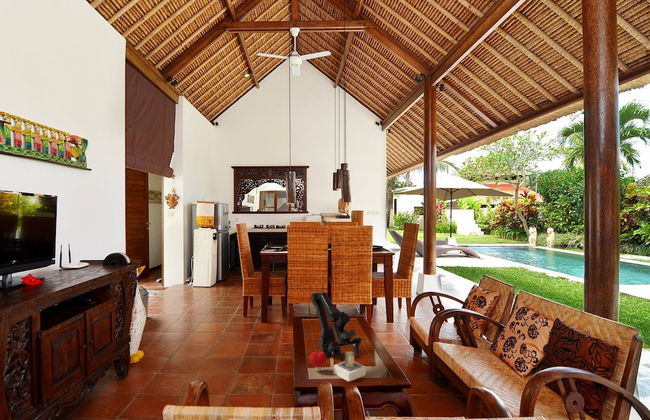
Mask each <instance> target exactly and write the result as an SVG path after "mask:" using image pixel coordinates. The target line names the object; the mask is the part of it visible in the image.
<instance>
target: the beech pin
mask: <svg viewBox="0 0 650 420" xmlns="http://www.w3.org/2000/svg"><path fill="white" fill-rule="evenodd" d="M344 361H345V367H347V368H349V369H350V368H352V367H354V362H355V352H354V351H352V350H348V351H345V352H344Z"/></svg>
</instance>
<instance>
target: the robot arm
mask: <svg viewBox="0 0 650 420" xmlns="http://www.w3.org/2000/svg"><path fill="white" fill-rule="evenodd" d="M310 301H311V303H312V305H313V306H314V307H315V309H316V313H317V315H318V321H319V325H320V329H321V331H320V337H319V339H318V341H317V342H318V345H319V346H320V347H321V348H320V352H324V353H325V354H326V356H327V358H330V357H333V356H335V355H336V356H337V358H338V359H339V360H340V361H341V363H342V362H344V361H345V358H344V356H343V354H342V352H341V351H342V350H341V347H346V346H351V347H352V350H353V352H354V356H356V358H357V359H359V358H360V354H359V352H360V351H359V348H360V347H359V346H360V345H361V343H362V342H363V340H362V339H363V338H362V337H357V336H356V331H355V328H354V329H350V330H346V327H347V326H348V324H349V322H350V320H351V317H350V316H349V315H348V314H347V313H345V311H340V310H339V308H337V307H335V306H334V304H333V302H332V301H331V299H330V298H329V295H328V293H327V291H326V292H324V291H323V292H322V291H321V292H312V293H311V295H310ZM326 312H327V314H326ZM329 322H330V323H333V324H332V328H331V327H330V326H329ZM354 336H356V337H354ZM352 338H353V339H352ZM336 340H337V341H336Z"/></svg>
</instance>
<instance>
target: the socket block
mask: <svg viewBox="0 0 650 420" xmlns="http://www.w3.org/2000/svg"><path fill="white" fill-rule="evenodd" d="M333 374H334V375H335V376H338V377H339V378H341V379H343V380H345V381H346V382H349V381H350V382H352V381H354V380H356V379H360V378H362V377H364V376H366V375H367V368H366V366H365V365H363V364H361V363H358V362H356V361H354V367H352V368H350V369H349V368H347V367H345V360H344V361H343V362H342V361H341V362H339V363H337V364H333ZM350 382H349V383H350Z"/></svg>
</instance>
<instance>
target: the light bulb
mask: <svg viewBox="0 0 650 420" xmlns="http://www.w3.org/2000/svg"><path fill="white" fill-rule="evenodd" d="M327 360H328V357H327V356H326V354H325V353H324V352H321V351H320V352H317V351H314V352H311V353H310V355H309V362H310V363H311V364H312V365H313V366H315V371H316V372H318V373H319V372H320V371H321V369H322V368H321V366H323V365H324V364H325V363H326V362H327Z"/></svg>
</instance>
